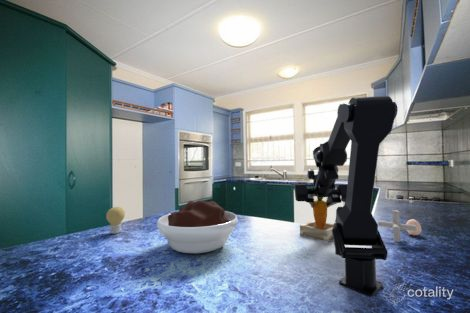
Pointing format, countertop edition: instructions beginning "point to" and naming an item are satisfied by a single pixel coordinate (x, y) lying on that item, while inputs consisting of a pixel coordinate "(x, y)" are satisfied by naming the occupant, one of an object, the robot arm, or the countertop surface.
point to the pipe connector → (396, 225)
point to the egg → (418, 227)
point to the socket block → (317, 231)
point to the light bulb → (115, 219)
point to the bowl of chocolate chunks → (197, 227)
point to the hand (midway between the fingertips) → (319, 206)
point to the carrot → (320, 212)
